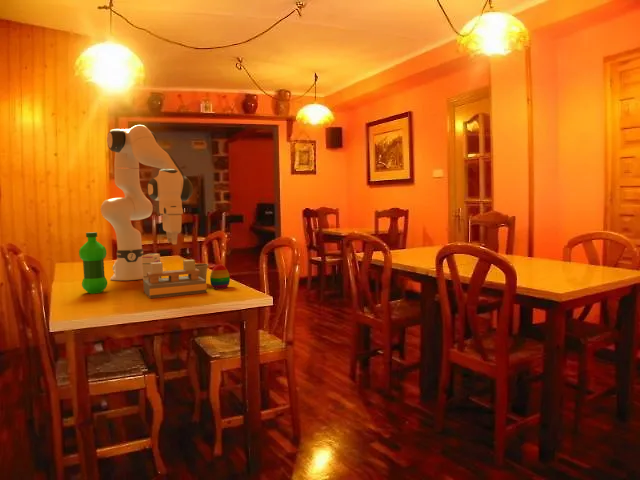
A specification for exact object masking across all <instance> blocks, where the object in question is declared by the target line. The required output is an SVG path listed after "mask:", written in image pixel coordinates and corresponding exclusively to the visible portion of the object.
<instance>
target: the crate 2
mask: <svg viewBox="0 0 640 480" xmlns="http://www.w3.org/2000/svg"><path fill="white" fill-rule="evenodd" d="M182 261H183V262H182V265H183V266H182V267H183V270H185V271H192V270H195V264H196V260H195V259H184V260H182Z"/></svg>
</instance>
